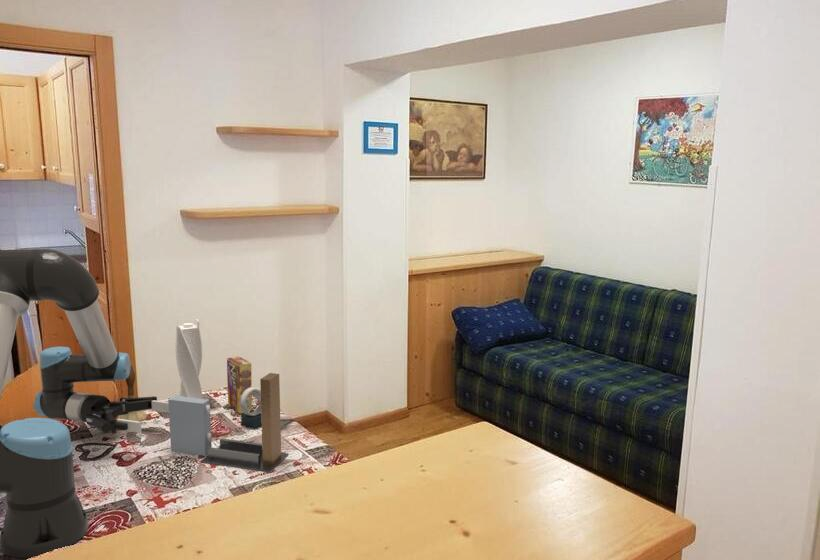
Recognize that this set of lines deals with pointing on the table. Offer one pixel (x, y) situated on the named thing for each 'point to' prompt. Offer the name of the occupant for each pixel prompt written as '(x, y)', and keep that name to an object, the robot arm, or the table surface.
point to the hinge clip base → (270, 449)
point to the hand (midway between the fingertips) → (157, 417)
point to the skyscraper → (189, 359)
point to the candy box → (238, 382)
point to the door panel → (190, 425)
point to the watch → (252, 417)
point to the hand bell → (130, 383)
